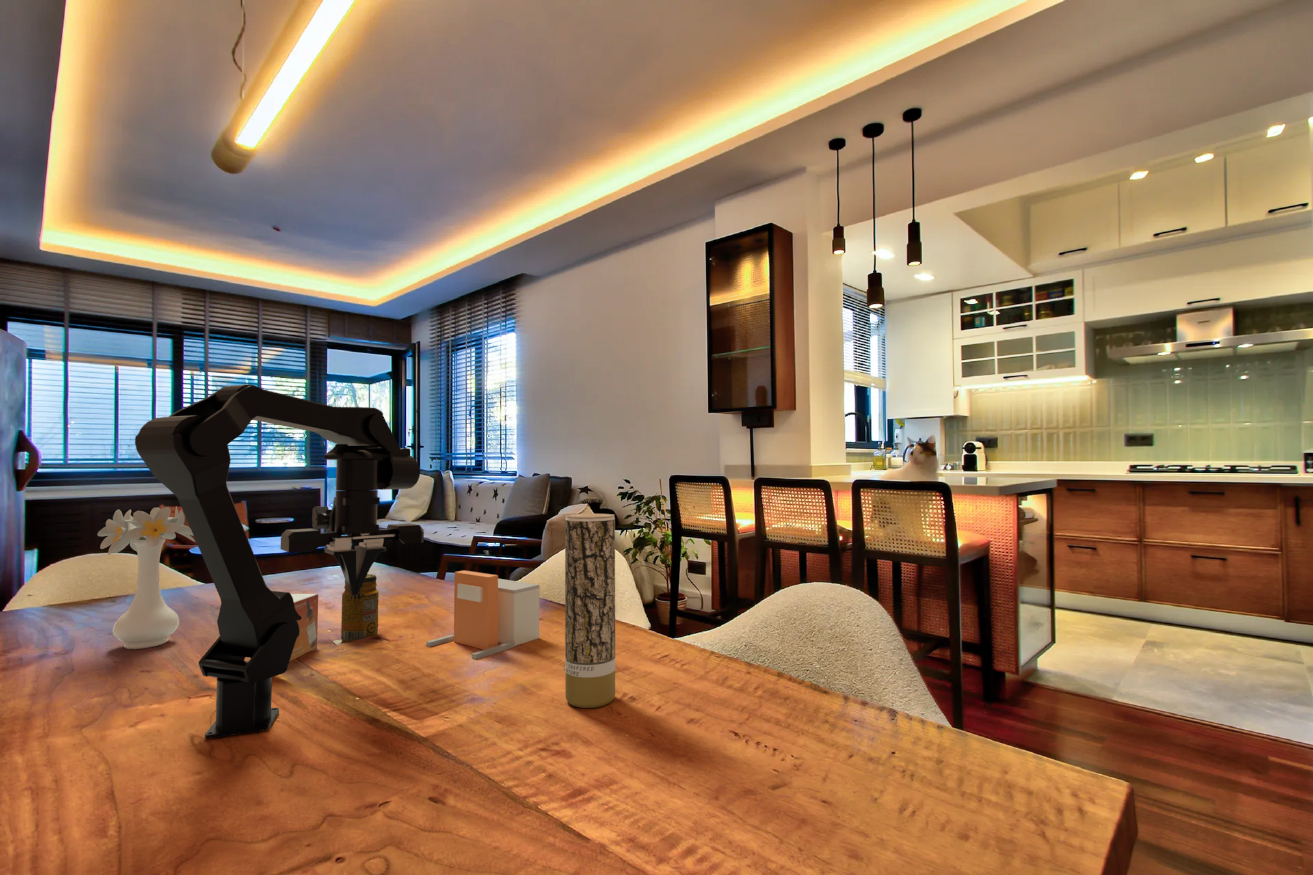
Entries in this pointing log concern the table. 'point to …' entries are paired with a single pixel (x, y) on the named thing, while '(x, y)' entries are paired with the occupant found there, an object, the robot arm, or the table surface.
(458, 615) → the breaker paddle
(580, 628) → the paper tube
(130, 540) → the flower vase
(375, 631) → the condiment
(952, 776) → the table surface
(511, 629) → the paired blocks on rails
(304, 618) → the small box
